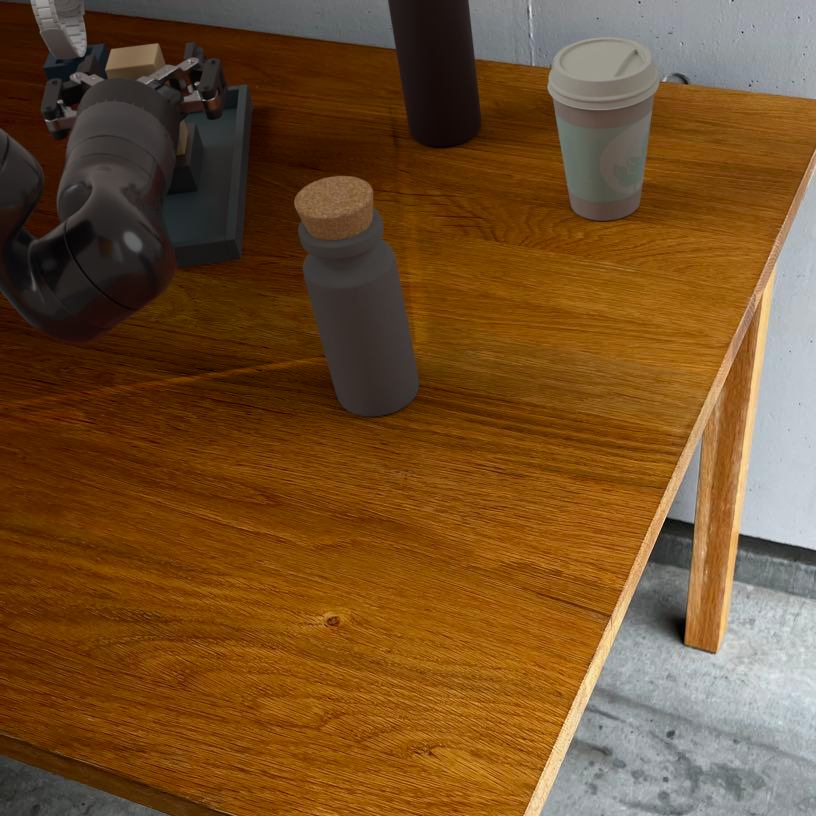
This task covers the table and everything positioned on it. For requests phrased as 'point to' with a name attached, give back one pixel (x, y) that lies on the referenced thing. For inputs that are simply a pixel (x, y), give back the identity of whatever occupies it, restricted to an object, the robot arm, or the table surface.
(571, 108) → the coffee cup
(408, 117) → the vinegar
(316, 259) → the bottle
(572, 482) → the table surface
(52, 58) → the watch
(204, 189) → the tray
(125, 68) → the stamp
